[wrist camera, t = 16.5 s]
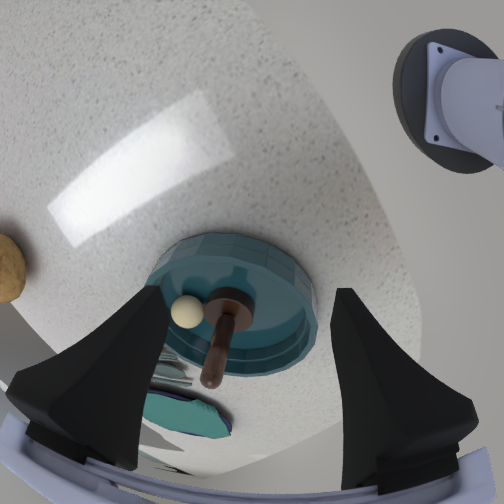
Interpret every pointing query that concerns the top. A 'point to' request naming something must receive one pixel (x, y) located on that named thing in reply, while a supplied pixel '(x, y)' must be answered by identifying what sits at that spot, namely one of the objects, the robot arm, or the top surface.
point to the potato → (10, 270)
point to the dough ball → (187, 311)
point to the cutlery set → (182, 407)
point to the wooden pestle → (224, 329)
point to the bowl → (252, 283)
